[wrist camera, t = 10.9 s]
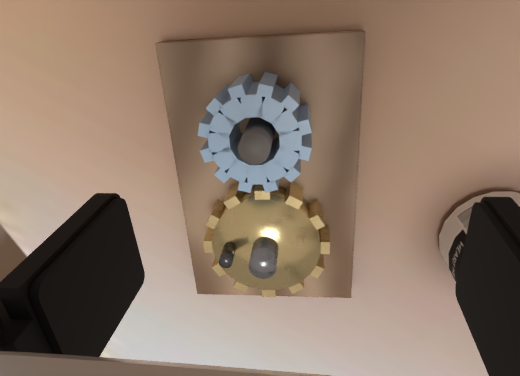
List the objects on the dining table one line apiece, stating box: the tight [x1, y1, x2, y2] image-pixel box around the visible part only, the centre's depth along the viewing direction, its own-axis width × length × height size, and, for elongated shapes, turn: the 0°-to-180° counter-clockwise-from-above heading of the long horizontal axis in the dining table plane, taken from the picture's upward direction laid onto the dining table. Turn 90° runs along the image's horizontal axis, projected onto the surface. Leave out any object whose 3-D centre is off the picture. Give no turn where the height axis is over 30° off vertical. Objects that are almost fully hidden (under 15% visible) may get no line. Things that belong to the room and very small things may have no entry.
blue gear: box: [198, 72, 312, 193], centre depth 27 cm, size 7×7×4 cm
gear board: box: [155, 30, 365, 298], centre depth 29 cm, size 14×22×6 cm, turn 4°
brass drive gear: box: [203, 182, 330, 297], centre depth 30 cm, size 10×10×5 cm
